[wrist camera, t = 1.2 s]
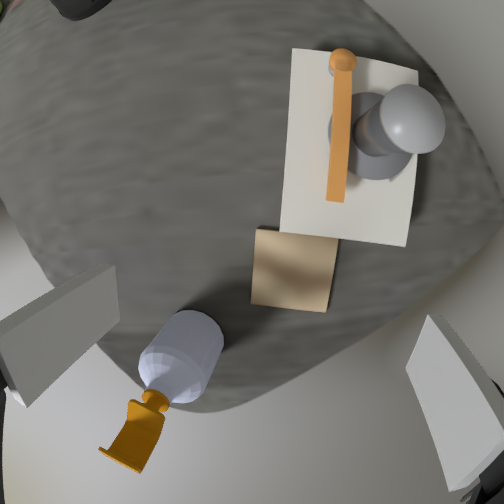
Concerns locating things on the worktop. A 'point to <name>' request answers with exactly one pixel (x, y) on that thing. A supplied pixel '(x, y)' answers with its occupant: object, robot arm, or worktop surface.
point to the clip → (340, 123)
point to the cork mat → (292, 270)
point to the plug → (391, 130)
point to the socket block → (318, 152)
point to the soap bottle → (167, 382)
